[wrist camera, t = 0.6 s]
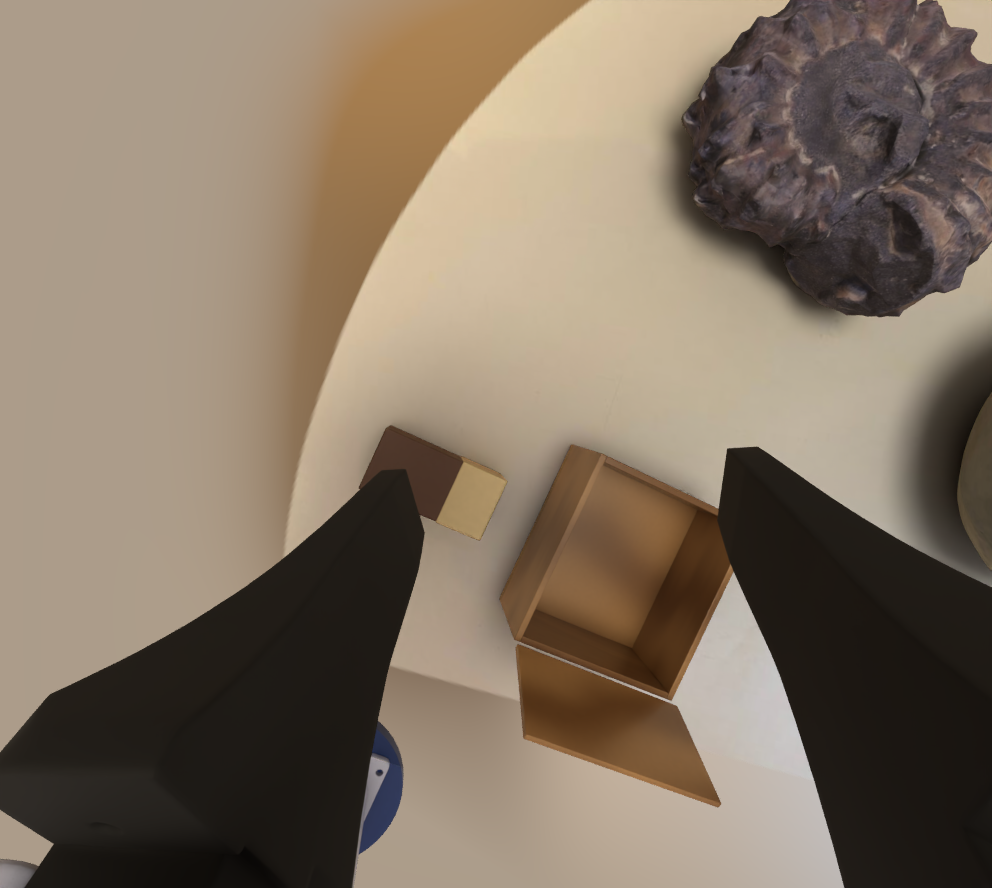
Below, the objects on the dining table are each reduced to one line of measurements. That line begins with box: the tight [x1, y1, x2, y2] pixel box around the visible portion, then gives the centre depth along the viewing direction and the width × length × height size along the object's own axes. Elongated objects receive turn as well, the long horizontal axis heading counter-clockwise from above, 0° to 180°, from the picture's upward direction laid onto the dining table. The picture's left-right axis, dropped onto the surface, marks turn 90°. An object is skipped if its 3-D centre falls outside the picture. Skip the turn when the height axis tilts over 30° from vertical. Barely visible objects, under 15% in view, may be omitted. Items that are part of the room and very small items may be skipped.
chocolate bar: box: [359, 426, 507, 541], centre depth 31 cm, size 8×4×3 cm, turn 65°
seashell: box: [682, 0, 992, 317], centre depth 29 cm, size 20×13×15 cm
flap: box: [516, 644, 721, 807], centre depth 26 cm, size 6×11×1 cm
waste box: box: [499, 445, 734, 701], centre depth 32 cm, size 12×11×6 cm
